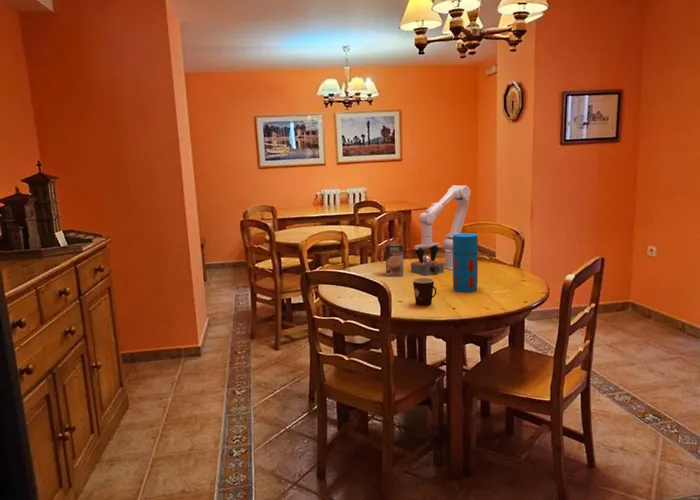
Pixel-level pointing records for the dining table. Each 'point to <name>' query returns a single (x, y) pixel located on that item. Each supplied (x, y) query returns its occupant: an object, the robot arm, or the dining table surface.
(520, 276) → the dining table surface
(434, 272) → the grey flat box
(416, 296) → the coffee mug
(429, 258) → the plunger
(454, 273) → the thermos
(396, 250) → the coffee box
